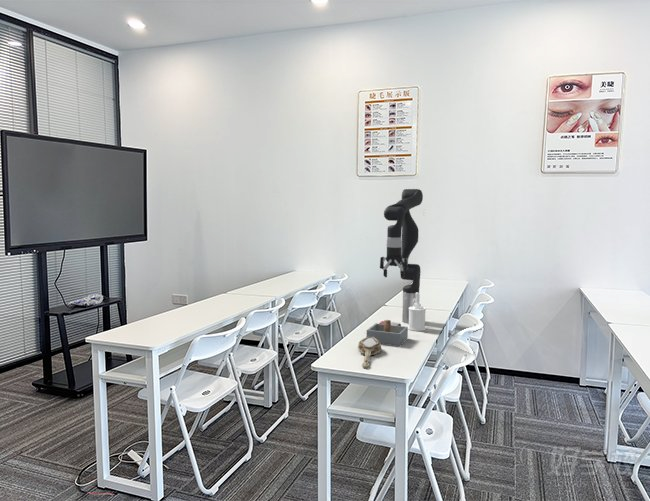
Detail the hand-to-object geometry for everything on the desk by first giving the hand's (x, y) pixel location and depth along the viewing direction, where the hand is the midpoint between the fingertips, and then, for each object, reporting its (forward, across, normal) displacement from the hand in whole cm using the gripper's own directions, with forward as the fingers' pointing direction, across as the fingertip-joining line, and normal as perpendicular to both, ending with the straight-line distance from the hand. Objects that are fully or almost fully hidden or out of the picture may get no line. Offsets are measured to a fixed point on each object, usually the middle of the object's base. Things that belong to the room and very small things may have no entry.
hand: (393, 277), depth 247 cm
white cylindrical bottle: (+30, -8, -17) cm, 36 cm away
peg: (+30, 0, +10) cm, 32 cm away
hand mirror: (+30, 0, +38) cm, 48 cm away
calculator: (+31, +5, -6) cm, 32 cm away
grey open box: (+30, 0, +10) cm, 32 cm away
